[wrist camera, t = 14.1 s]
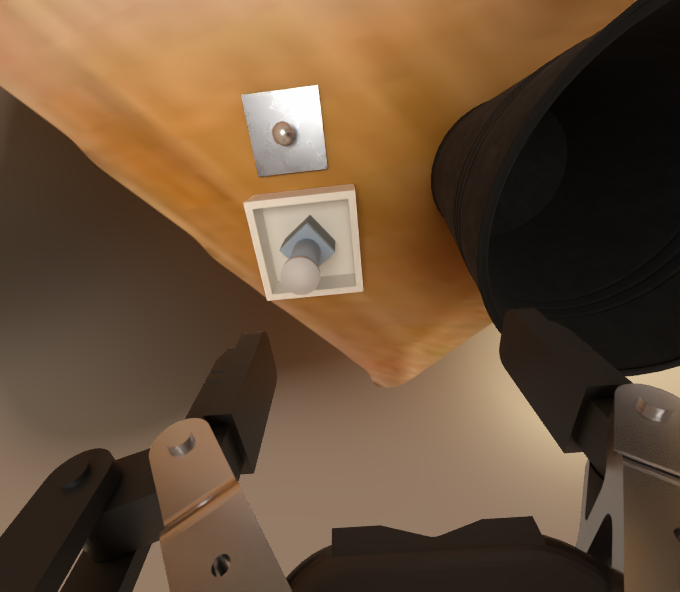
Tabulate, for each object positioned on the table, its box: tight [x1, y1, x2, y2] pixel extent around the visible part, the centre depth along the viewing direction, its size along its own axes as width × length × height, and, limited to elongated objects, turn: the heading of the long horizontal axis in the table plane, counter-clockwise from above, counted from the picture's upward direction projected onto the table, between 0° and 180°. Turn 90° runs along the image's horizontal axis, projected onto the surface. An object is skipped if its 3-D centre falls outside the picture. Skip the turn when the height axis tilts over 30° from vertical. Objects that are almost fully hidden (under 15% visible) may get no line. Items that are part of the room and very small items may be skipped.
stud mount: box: [241, 85, 328, 177], centre depth 41 cm, size 10×10×5 cm
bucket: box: [431, 0, 680, 376], centre depth 33 cm, size 27×28×30 cm
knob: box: [279, 215, 335, 295], centre depth 43 cm, size 6×6×14 cm
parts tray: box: [243, 184, 363, 301], centre depth 48 cm, size 15×15×6 cm
